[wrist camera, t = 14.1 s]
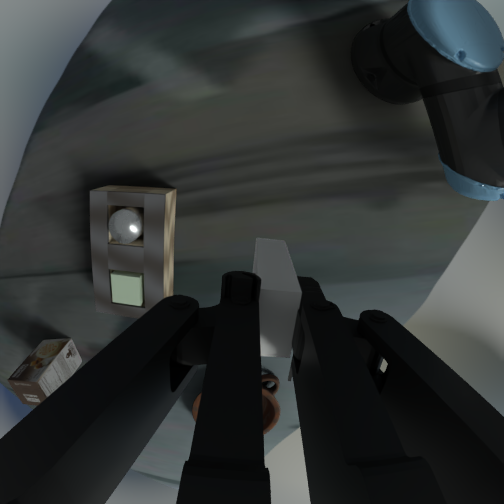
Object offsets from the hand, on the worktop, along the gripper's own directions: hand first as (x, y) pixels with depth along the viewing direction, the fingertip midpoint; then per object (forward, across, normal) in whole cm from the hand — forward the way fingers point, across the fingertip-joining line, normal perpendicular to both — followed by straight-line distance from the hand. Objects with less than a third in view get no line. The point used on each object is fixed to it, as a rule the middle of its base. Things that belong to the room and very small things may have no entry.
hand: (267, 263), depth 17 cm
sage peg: (+34, -19, -16) cm, 42 cm away
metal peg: (+34, -19, -6) cm, 39 cm away
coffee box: (+35, -40, -37) cm, 64 cm away
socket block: (+34, -19, -11) cm, 41 cm away
